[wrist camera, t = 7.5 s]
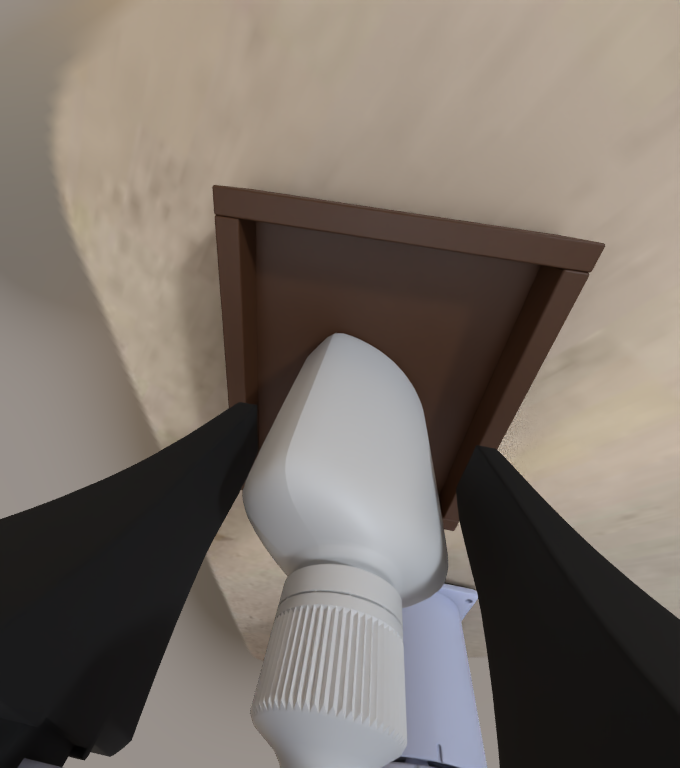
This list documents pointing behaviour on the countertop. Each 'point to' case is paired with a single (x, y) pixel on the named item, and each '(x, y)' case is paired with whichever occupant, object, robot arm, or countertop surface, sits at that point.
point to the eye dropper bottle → (344, 556)
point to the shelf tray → (394, 308)
